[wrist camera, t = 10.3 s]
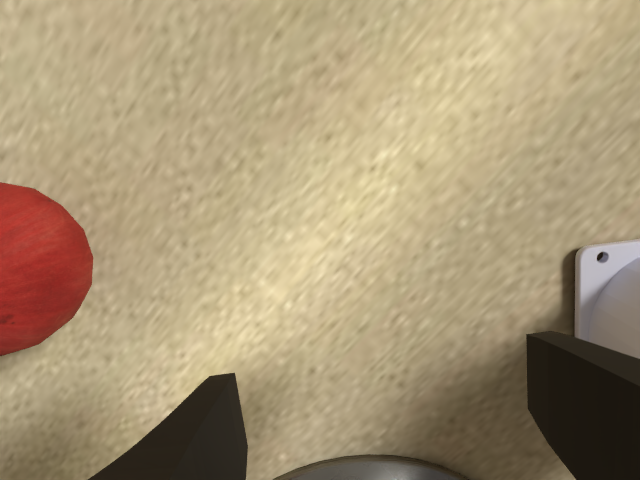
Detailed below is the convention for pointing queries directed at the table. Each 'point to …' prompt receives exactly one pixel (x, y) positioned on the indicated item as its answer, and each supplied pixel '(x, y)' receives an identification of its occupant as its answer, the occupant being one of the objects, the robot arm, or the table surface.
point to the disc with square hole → (372, 469)
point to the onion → (38, 267)
